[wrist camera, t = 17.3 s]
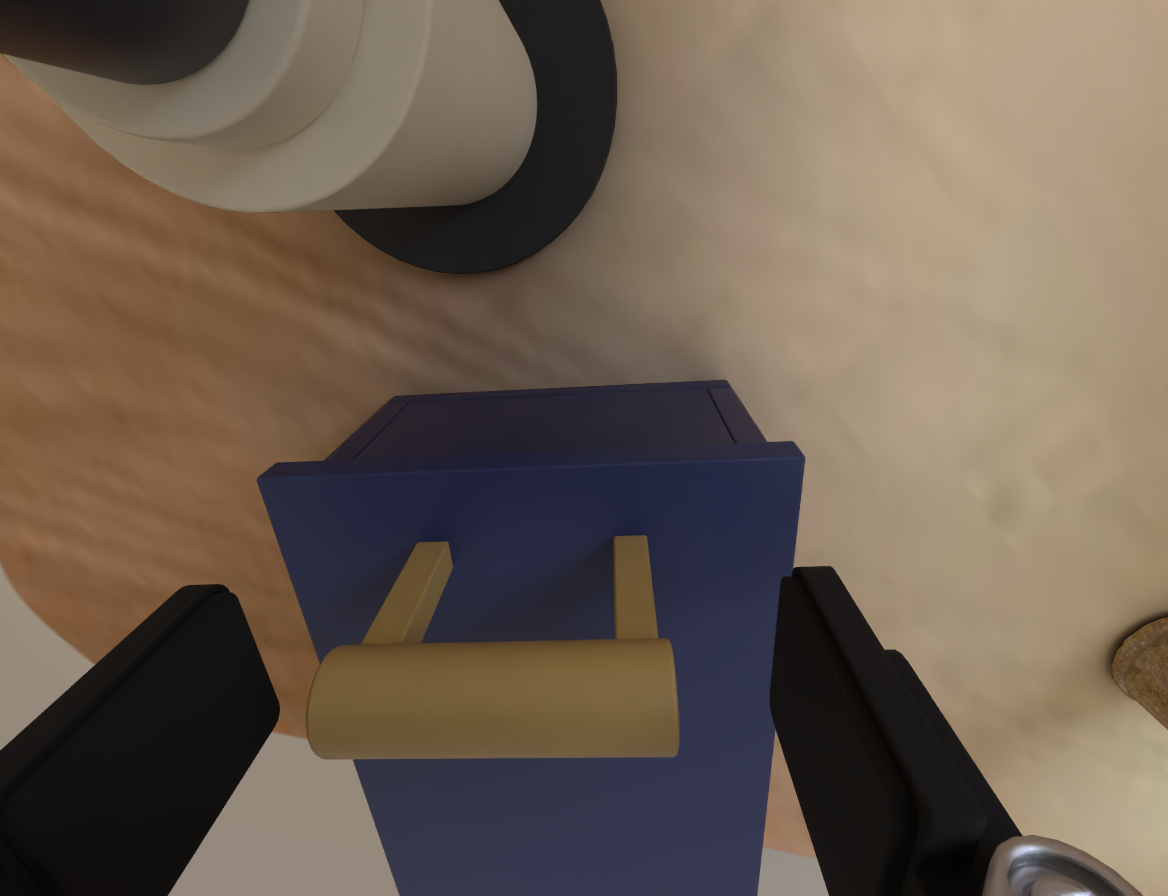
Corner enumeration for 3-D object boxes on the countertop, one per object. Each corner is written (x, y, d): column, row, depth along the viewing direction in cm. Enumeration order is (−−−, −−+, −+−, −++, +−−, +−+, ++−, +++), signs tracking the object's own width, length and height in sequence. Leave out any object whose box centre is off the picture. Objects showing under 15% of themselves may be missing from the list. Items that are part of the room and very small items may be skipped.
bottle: (316, 16, 14) (-1397, -1050, 2) (505, -47, 13) (-389, -2182, 1) (390, 225, 16) (-261, 302, 4) (558, 179, 15) (380, 106, 3)
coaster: (223, -54, 14) (207, -65, 13) (570, -180, 13) (568, -197, 12) (364, 302, 17) (356, 306, 17) (646, 230, 16) (647, 231, 16)
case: (393, 395, 19) (286, 493, 12) (727, 378, 18) (790, 473, 12) (459, 698, 24) (408, 868, 18) (713, 694, 24) (750, 870, 17)
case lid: (275, 461, 12) (46, 642, 7) (794, 439, 11) (936, 621, 6) (407, 870, 18) (332, 1120, 13) (751, 872, 17) (807, 1137, 12)
